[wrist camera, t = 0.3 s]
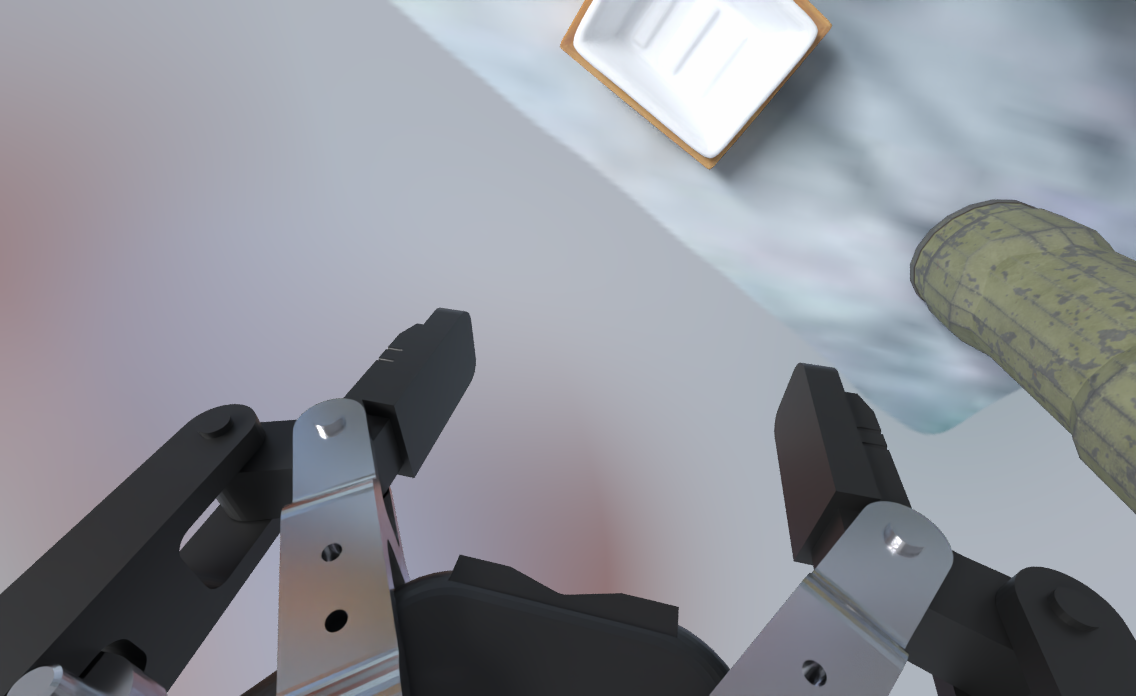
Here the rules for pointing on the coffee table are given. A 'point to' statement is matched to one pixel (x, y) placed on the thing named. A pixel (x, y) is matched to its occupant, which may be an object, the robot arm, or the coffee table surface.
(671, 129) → the soap dish
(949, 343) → the coffee table surface
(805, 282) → the coffee table surface
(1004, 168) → the coffee table surface
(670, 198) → the coffee table surface
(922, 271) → the thermos
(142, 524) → the robot arm
